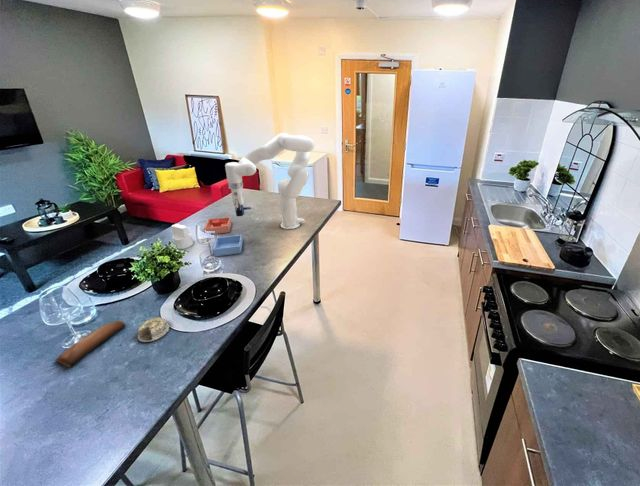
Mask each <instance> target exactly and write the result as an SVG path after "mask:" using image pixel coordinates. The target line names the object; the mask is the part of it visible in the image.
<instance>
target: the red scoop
mask: <svg viewBox="0 0 640 486" xmlns="http://www.w3.org/2000/svg"><path fill="white" fill-rule="evenodd" d="M226 223H227V221H224V222H220V220H214V221H212V224H213V227H219V226H221V224H226Z"/></svg>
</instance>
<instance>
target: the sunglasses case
mask: <svg viewBox="0 0 640 486" xmlns="http://www.w3.org/2000/svg"><path fill="white" fill-rule="evenodd" d="M124 327H126V324H125V322H124V321H122V320H115V321H113V322H109V323H105V324H103V325H102V326H100V327H99V328H96V329H95V330H93V331H91V332H89V333H87V334H86V335H84V336H83V337H81V338H80V339H78V341H77V342H76V343H74V344H73V345H71V346H70V347H69V348H68V349H66V350H65V351H64V352H62V353H61V354H60V355H59V356H58V357H57V358H56V359H55V360H56V362H58V363H59V364H61V365H64V366H66V367H68V368H71V367H72V366H74V365H75V364H77V363H78V362H80V360H82V359H83V358H84V357H85V356H87V354H89V353H90V352H92V351H93V350H94V349H95V348H97V347H99V346H100V345H101V344H102V343H104V342H105V341H106V340H107V339H109V338H111V337H112V336H113V335H114V334H116V333H117V332H119V331H120V330H122V329H123V328H124Z"/></svg>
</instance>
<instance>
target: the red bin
mask: <svg viewBox="0 0 640 486" xmlns="http://www.w3.org/2000/svg"><path fill="white" fill-rule="evenodd" d="M214 220H220V222H224V221H227V223H226V224H221V226H219V227H213V224H212V221H214ZM231 226H232V218H231V216H227V217H217V218H207V220H206V224H205V226H204V228H203V229H204V231H205V230H206V231H215V233H216V234H215V235H217V234H225V233H226V234H227V233H230V232H231V231H230V230H231Z"/></svg>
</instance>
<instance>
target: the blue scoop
mask: <svg viewBox="0 0 640 486" xmlns="http://www.w3.org/2000/svg"><path fill="white" fill-rule="evenodd" d="M239 207H240V206H239ZM241 209H242V213H243V216H245V215H246V214H245V213H246V212H245V211H247V210H251V209H252V207H251V206H244V204H243V205H241ZM234 210H235V212H236V206H234ZM235 216H237V214H236V213H235Z"/></svg>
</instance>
